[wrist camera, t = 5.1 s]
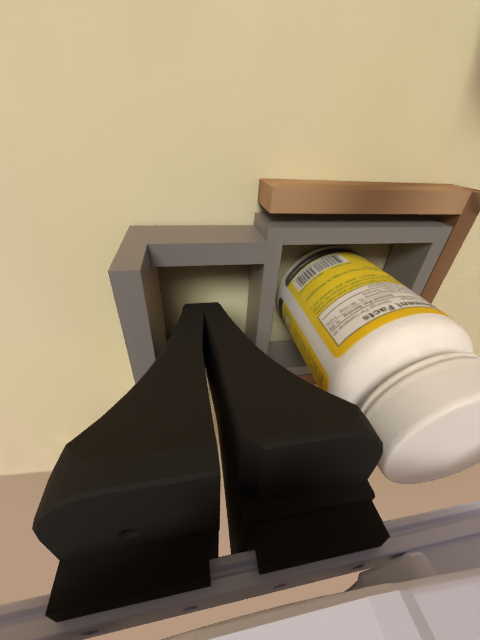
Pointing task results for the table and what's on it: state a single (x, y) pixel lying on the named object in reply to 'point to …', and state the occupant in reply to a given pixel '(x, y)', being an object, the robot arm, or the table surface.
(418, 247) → the gray divided frame
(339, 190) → the housing
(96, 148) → the table surface
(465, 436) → the supplement bottle
